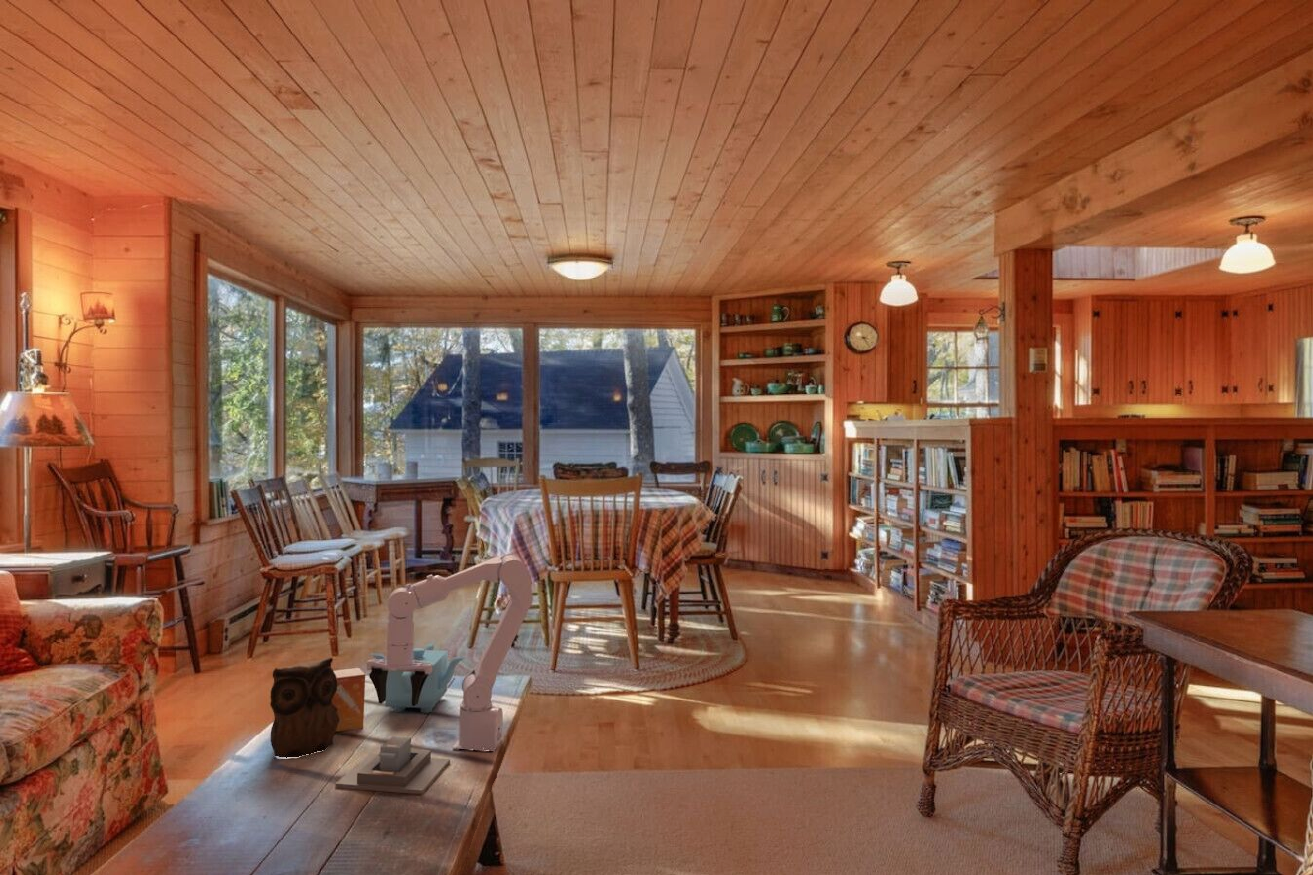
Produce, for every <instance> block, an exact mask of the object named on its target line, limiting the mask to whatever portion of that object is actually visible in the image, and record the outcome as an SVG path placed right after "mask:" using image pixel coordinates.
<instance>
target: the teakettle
mask: <svg viewBox="0 0 1313 875" xmlns="http://www.w3.org/2000/svg"><path fill="white" fill-rule="evenodd" d="M434 647H435V642H430V643H428V644H427V646H426V648H423V647H415V648H413V660H415V661H420V662H426V663H433V667H432V672H431V673H430V674H429V675H428V677H427V679H426V681H425V683H424V685H423V687H422V690H421V693H420V697H419V701H418V704H417V705H415V706H412V684H411V676H412V675H413V674H415V672H404V671H389V670H388V675H387V682H386V700H385V701H384V702H385V703H384V704H385V705H384V706H385V707H390V708H392V711H393V712H396V713H397V712H403V711H405V710H406V708H415V709H417V708H418V709H420V712H421V713H423V714H424V713H426V714H427V713H431V712H433V708H434V707H435V706H436V704H438V703H440V702H441V699H442V698H443V696H444V695H445V694H446V693H447V691H448V689H447V688H448V685H449V683H450V682H451V681H452V679H453V675H454V673H455V669H456V667H457V665H458V664H459V663H460V662H462V661H463V660H465V659H467V657H465V656H457V657H454V658H452V659H451V661H450V662H449V661H448V660H449V651H448V650H434ZM370 656H372V657H373V658H375V659H387V657H386V656H385V655H384V654H381V653H370ZM448 662H449V664H448Z"/></svg>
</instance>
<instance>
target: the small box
mask: <svg viewBox="0 0 1313 875" xmlns="http://www.w3.org/2000/svg"><path fill="white" fill-rule="evenodd" d="M333 671H334V673H335V675H336V680H337V691H336V693H335V694H334V696H333V698H332V702H333V704H334V705H335V707H336V708H337V714H338V715H339V719H340V721H339V723H338V725H337V729H336V733H337V732H341V731H348V730H356V729H363V728H364V717H365V694H366V693H365V692H366V691H365V690H366V689H365V688H366V674H365V673H364V671H363V670H361V669H360V667H355V668H346V669H345V668H344V669H343V668H342V669H338V670H333Z"/></svg>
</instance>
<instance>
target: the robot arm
mask: <svg viewBox="0 0 1313 875" xmlns="http://www.w3.org/2000/svg"><path fill="white" fill-rule="evenodd" d="M498 578H499V580H500V582H502V584H503V586H505V588H506V589H507V592H508V594H509V596H510V598H509V599H510V600H509V601H508V604H507V605H506V607H505V609H504V611H503V613H502V616H501V617H500V619H499V621H498V623H497V625H496V627H495V630H494V631H493V633H492V635H491V637H490V639H489V641H488V643H487V645H486V647H485V649H484V651H483V653H482V655H481V657H480V659H479V660H478V661H477V662H476V664H475V665H474V667H473V669H472V670H471V671H470V672H469V673H468V674H466V675H465V676H464V678H463V680H462V681H461V682H462V683H461V690H462V692H463V693H462V694H463V695H462V699H463V700H462V701H461V702H460V703H459V729H458V730H459V732H458V733H459V734H458V740H457V742H455V744H454V745H453V746H452V749H453V750H459V749H473V750H489V751H493V752H495V750H496V749H497V748H498V747H499V746H500V744H501V743H502V741H503V739H504V738H503V718H504V717H503V708H502V707H500V706H499V707H498V706H495V705H493V702H492V698H493V697H492V696H493V692H492V690H493V688H494V685H495V683H496V681H497V680H496V679H497V676H498V673H499V670H500V668H501V666H502V665H503V662H504V660H505V658H506V657H507V654H508V652H509V650H510V648H511V646H512V644H513V642H514V641H515V638H516V636H517V634H518V632H519V630H520V628H521V626H522V624H523V622H524V620H525V618H526V616H527V614H528V612H529V610H530V608H531V606H532V604H533V601H534V596H533V590H532V582H531V581H532V580H531V579H532V577H531V574H530V572H529V570H528V568H527V566H526V564H525V563H524V561H523V559H522V558H521V556H519V555H517V554H515V553H506V554H503V555H502V556H495V557H492V558H490V559H487V560H484V561H482V562H479V563H478V564H475V565H473V566H471V567H467V568H465V569H462V570H461V571H459V572H456V573H454V574H451V575H449V576H447V577H444V576H441V575H439V574H437V575H433V574H429V575H426V579H424V580H420V581H418V582H416V583H413V584H411V583H407V584H406V585H405V587H399V588H396V589H394V590H393V591H392V592H391V593H390V594H389V597H388V601H387V608H388V612H389V613H388V616H387V619H388V622H387V632H386V633H387V634H386V636H387V638H386V659H376V658H375V659H374V658H370V659H369V660H367V661H366V671H370V673H369V674H368V676H369V679H370V680H371V683H372V684H373V686H374V689H375V692H376V696H377V701H378V704H383V703H384V702H385V700H386V682H387V675H388V670H389V671H404V672H415V674H413V675H412V676H411V684H412V706H415V705H417V704H418V701H419V697H420V693H421V690H422V687H423V685H424V683H425V681H426V679H427V677H428V675H429V674H430V673H431V672H432V667H433V663H426V662H420V661H415V660H413V649H414V647H415V646H414V642H415V638H414V637H415V621H414V611H415V610H420V609H424V608H425V607H429V606H430V605H434V604H436V603H438V602H442V601H445V600H446V599H447V598H448V596H449V595H450V592H453V591H455V590H457V589H462V588H464V587H466V586H467V587H468V586H469V585H473V584H475V583H478V582H481V581H487V582H493V583H498ZM483 748H484V749H483ZM473 750H472V751H473Z"/></svg>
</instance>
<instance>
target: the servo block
mask: <svg viewBox="0 0 1313 875" xmlns="http://www.w3.org/2000/svg"><path fill="white" fill-rule="evenodd" d="M411 744H412V737H407V736H396V735H395V736H394V735H392V736H391V737H390V738H389V739H388V740H387V741H386V742H384V743H383V744H382V745H381V746H380V752H379V753H380V754H379V753H378V754H379V757H380V771H392V772H400V771H401V770H402V769H403V768H404V767H405V766H406V765H407V764H408V763H409V762H410V751H411V749H412V748H411V746H412V745H411Z"/></svg>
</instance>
